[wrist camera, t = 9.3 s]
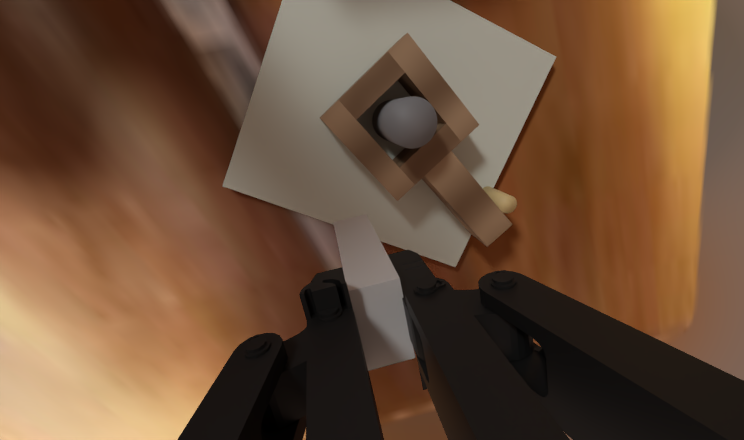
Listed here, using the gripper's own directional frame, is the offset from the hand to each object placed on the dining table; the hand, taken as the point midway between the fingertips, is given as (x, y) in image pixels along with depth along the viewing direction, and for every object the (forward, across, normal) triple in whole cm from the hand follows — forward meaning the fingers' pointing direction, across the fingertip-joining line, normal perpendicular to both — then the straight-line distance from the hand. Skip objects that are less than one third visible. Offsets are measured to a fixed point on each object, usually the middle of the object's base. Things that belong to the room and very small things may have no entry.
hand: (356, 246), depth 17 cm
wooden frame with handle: (+19, +9, 0) cm, 21 cm away
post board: (+20, +6, +4) cm, 22 cm away
